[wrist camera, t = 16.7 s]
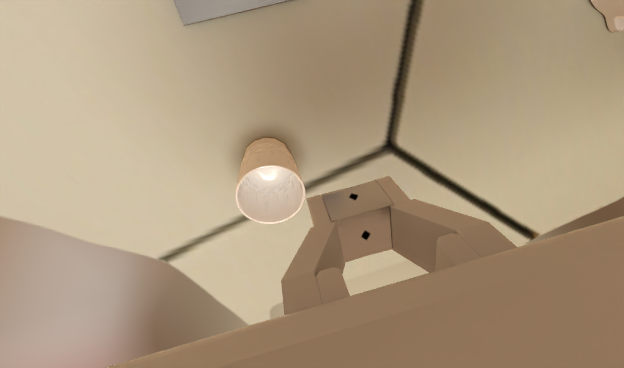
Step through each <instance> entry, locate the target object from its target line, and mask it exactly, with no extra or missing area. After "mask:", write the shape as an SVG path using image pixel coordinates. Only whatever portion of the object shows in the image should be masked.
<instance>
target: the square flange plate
mask: <svg viewBox="0 0 624 368" xmlns="http://www.w3.org/2000/svg"><path fill="white" fill-rule="evenodd" d="M285 1H289V0H174V2H175V5H176V7H177V10H178V12H179V15H180V17H181V20H182V22H183V25H188V24H192V23H197V22H201V21H205V20H209V19H213V18H218V17H222V16H226V15H230V14H234V13H239V12H243V11H247V10H251V9H255V8H260V7H264V6H268V5H272V4H276V3H281V2H285Z"/></svg>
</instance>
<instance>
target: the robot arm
mask: <svg viewBox="0 0 624 368" xmlns="http://www.w3.org/2000/svg"><path fill="white" fill-rule="evenodd" d="M591 2H592V4H593V5H594V7H595V8H596V9H597V10H599V11H600V12H601V13H602V14H603V15H604V16H605V18H606V23H607V26H608V29H609V30H610V31H611V32H615V31H622V30H624V0H591ZM307 203H308V207H309V210H310V214H311V218H312V222H313V226H314V227H312V228H310V230H309V232H308V234H307V235H306V237H305V239H304V241H303V243H302V244H301V246H300V248H299V250H298V252H297V253H296V255H295V257H294V259H293V261H292V262H291V264H290V266H289V268H288V270H287V271H286V273H285V275H284V277H283V279H282V280H281V284H282V294H283V304H284V316H281V317H277V318H274V319H270V320H267V321H263V322H260V323H256V324H253V325H250V326H246V327H243V328H239V329H236V330H233V331H229V332H226V333H222V334H219V335H215V336H212V337H208V338H205V339H202V340H198V341H195V342H191V343H188V344H184V345H181V346H178V347H174V348H171V349H167V350H164V351H160V352H157V353H154V354H150V355H147V356H143V357H140V358H136V359H133V360H129V361H126V362H123V363H119V364H116V365H112V366H109V367H106V368H624V216H623V217H620V218H616V219H613V220H610V221H606V222H603V223H599V224H596V225H593V226H589V227H586V228H582V229H579V230H575V231H572V232H569V233H565V234H562V235H558V236H555V237H552V238H548V239H545V240H541V241H538V242H535V243H531V244H527V245H524V246H521V247H516V246H515V245H514V244H513V243H512V242H511V241H509V240H508V239H507V238H506V237H505V236H504V235H503V234H501V233H500V232H499V231H498V230H497V229H496V228H494V227H493V226H492V225H491V224H490V223H489V222H486V221H483V220H480V219H477V218H474V217H470V216H467V215H464V214H461V213H458V212H454V211H451V210H448V209H445V208H442V207H438V206H435V205H432V204H429V203H426V202H422V201H419V200H416V199H413V200H410V199H409V198H408V197H407V195H406V194H405V193H404V192H403V191H402V190H401V189H400V188H399V186H398V185H397V184H396V183H395V182H394V181H393V180H392V178H391V177H389V176H386V177H383V178H380V179H377V180H374V181H371V182H367V183H364V184H361V185H357V186H354V187H350V188H345V189H341V190H337V191H333V192H329V193H325V194H321V195H317V196H314V197H310V198H307ZM391 249H393V250H394V251H395V252H397V253H399V254H400V255H402V256H403V257H405V258H407V259H408V260H410V261H412V262H413V263H415V264H416V265H418V266H420V267H421V268H423V269H425V270H426V271H428V272H429V273H428V274H424V275H421V276H418V277H414V278H410V279H407V280H404V281H401V282H397V283H394V284H390V285H387V286H383V287H380V288H377V289H373V290H370V291H366V292H363V293H359V294H356V295H352V296H350V295H349V292H348V290H347V287H346V284H345V281H344V278H343V276H342V273H343V270H344V266H345V262H348V261H351V260H355V259H358V258H361V257H364V256H367V255H371V254H375V253H379V252H383V251H387V250H391Z"/></svg>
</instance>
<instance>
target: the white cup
mask: <svg viewBox="0 0 624 368" xmlns="http://www.w3.org/2000/svg"><path fill="white" fill-rule="evenodd" d="M235 199H236V203H237V206H238V208H239V209H240V211H241V212H242V213H243V214H244V215H245V216H246V217H247V218H249V219H251V220H253V221H255V222H258V223H263V224H275V223H280V222H283V221H285V220H288V219H289V218H291V217H292V216H294V215H295V214H296V213H297V212H298V211H299V210H300V208H301V207H302V205H303V203H304V199H305V187H304V184H303V182H302V179H301V177H300V174H299V172H298V169H297V166H296V164H295V162H294V160H293V158H292V156H291V154H290V152H289V150H288V149H287V147H286V145H285V144H283V143H282V142H280V141H278V140H277V139H273V138H262V139H259V140H255V141H254V142H253V143H251V144H250V145H249V146H248V147H247V148H246V151H245V154H244V157H243V160H242V163H241V167H240V171H239V176H238V182H237V187H236V192H235Z"/></svg>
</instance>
